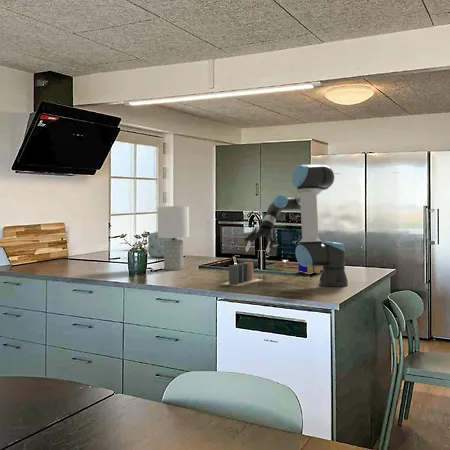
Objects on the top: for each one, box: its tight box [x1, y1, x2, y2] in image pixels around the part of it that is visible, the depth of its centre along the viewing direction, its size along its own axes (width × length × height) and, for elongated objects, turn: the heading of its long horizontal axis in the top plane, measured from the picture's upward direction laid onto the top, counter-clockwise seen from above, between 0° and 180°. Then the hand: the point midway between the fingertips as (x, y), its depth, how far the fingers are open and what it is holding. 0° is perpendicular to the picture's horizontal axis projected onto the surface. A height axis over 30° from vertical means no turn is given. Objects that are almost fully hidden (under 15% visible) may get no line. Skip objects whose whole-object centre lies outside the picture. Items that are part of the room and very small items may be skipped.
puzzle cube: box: [298, 263, 321, 275], centre depth 328 cm, size 10×10×10 cm
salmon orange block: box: [243, 261, 254, 280], centre depth 299 cm, size 2×5×10 cm, turn 58°
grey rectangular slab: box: [233, 263, 244, 283], centre depth 290 cm, size 2×5×10 cm, turn 58°
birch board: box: [220, 278, 264, 287], centre depth 293 cm, size 14×25×1 cm, turn 149°
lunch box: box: [147, 231, 182, 259], centre depth 419 cm, size 27×10×21 cm, turn 74°
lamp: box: [156, 205, 190, 271], centre depth 349 cm, size 21×21×42 cm
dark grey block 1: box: [228, 264, 239, 285], centre depth 285 cm, size 2×5×10 cm, turn 59°
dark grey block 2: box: [238, 262, 249, 282], centre depth 294 cm, size 2×5×10 cm, turn 58°
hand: (256, 251), depth 306 cm, fingers open, 13 cm apart
